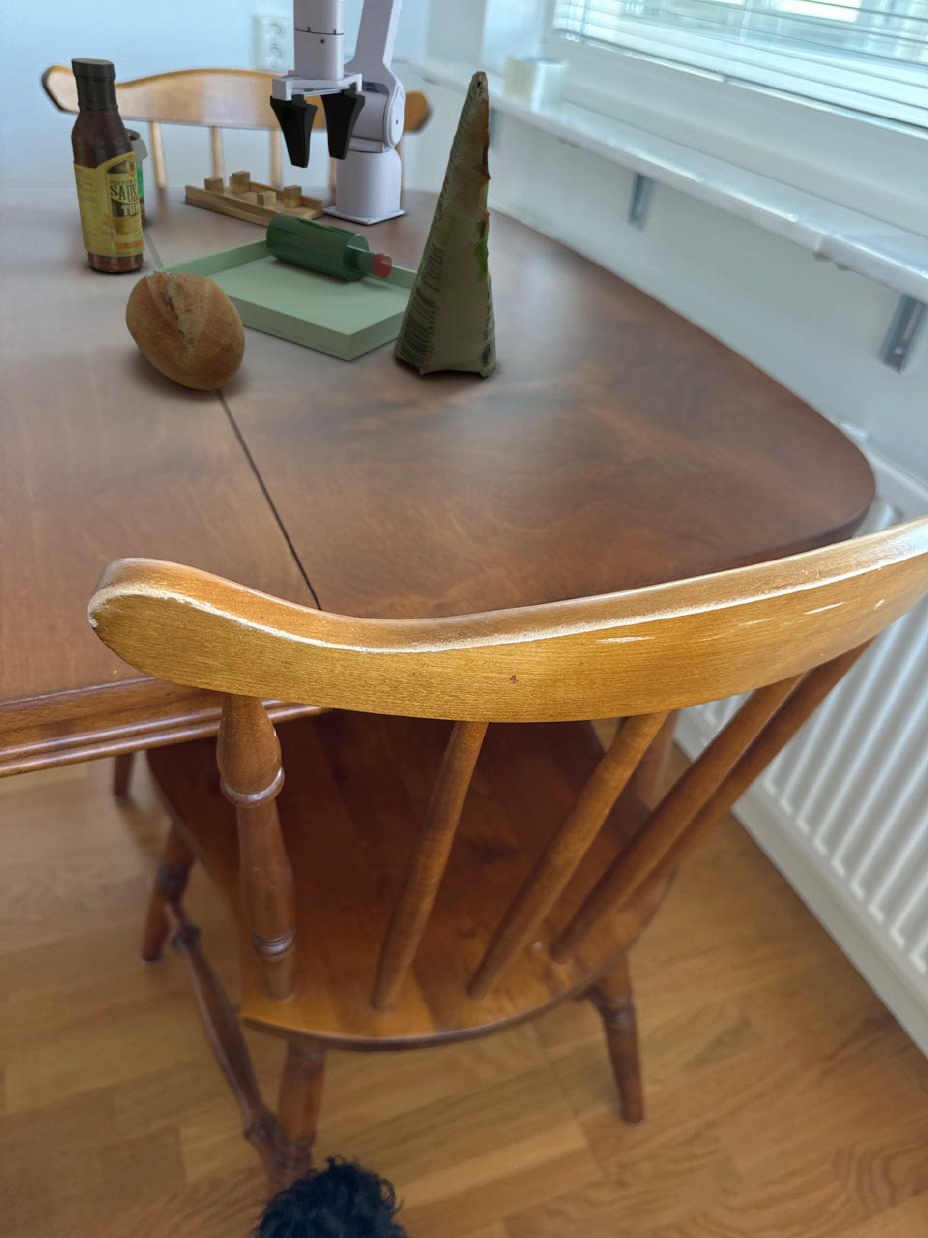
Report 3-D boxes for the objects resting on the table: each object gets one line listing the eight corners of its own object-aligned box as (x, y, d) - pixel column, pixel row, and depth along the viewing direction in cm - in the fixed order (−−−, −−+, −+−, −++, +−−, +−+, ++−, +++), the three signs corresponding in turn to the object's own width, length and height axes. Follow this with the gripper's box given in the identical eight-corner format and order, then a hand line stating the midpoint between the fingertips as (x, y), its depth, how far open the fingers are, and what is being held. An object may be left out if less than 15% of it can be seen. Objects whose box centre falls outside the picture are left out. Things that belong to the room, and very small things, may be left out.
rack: (234, 191, 130) (233, 165, 128) (322, 216, 125) (322, 189, 123) (184, 202, 123) (182, 175, 121) (276, 229, 118) (275, 200, 116)
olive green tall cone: (449, 332, 95) (475, 58, 80) (530, 373, 89) (576, 83, 73) (367, 352, 88) (378, 57, 73) (448, 397, 82) (478, 85, 67)
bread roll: (155, 408, 74) (143, 313, 70) (116, 341, 84) (104, 253, 79) (266, 395, 79) (263, 304, 74) (217, 332, 89) (211, 249, 84)
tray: (284, 254, 110) (283, 232, 108) (459, 307, 101) (461, 284, 100) (155, 294, 95) (152, 269, 93) (348, 361, 86) (349, 334, 85)
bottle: (291, 258, 108) (296, 212, 106) (394, 289, 103) (401, 242, 101) (263, 258, 104) (267, 211, 102) (369, 291, 99) (376, 242, 97)
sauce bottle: (129, 278, 98) (102, 67, 86) (76, 269, 98) (42, 58, 86) (157, 262, 103) (136, 61, 91) (106, 253, 104) (78, 52, 91)
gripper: (329, 23, 108) (328, 148, 116) (248, 26, 98) (253, 162, 106) (377, 33, 105) (373, 159, 114) (300, 36, 95) (301, 175, 103)
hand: (318, 162), depth 110 cm, fingers open, 7 cm apart
